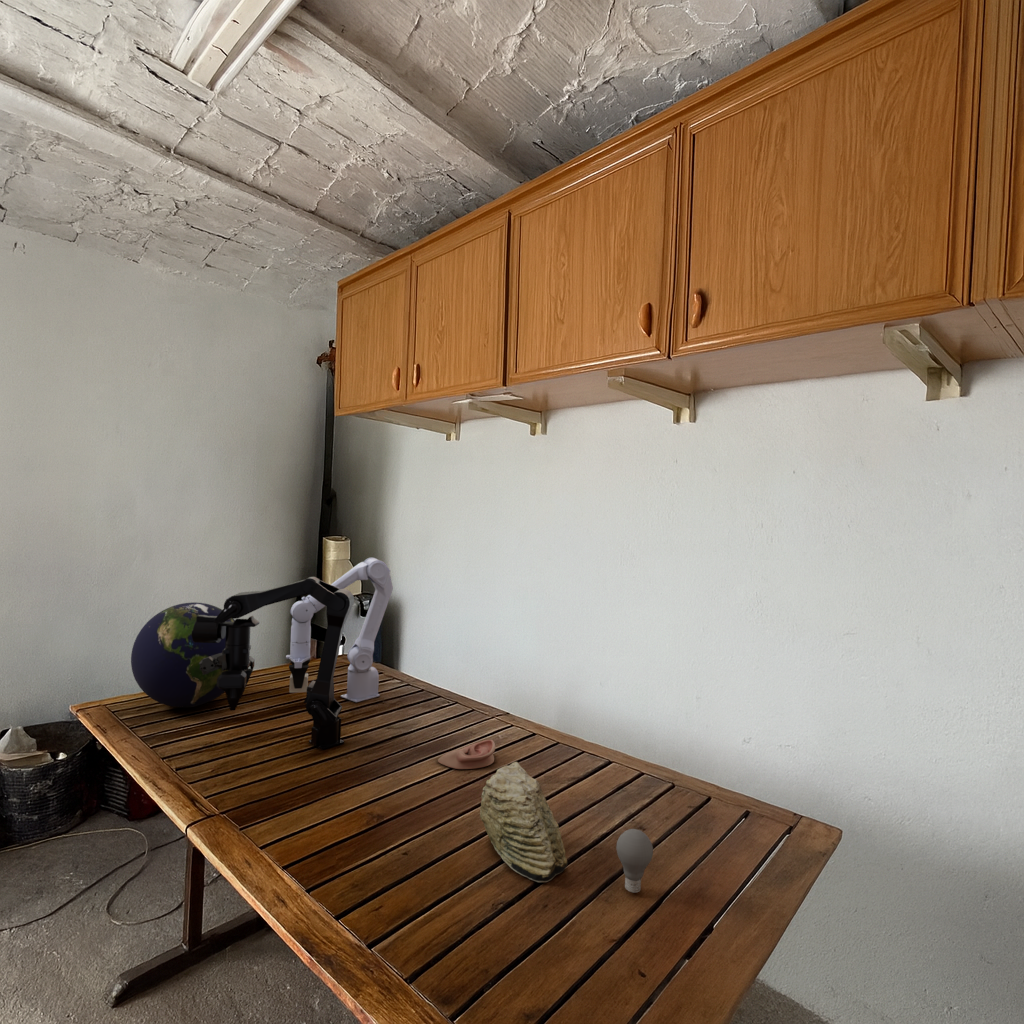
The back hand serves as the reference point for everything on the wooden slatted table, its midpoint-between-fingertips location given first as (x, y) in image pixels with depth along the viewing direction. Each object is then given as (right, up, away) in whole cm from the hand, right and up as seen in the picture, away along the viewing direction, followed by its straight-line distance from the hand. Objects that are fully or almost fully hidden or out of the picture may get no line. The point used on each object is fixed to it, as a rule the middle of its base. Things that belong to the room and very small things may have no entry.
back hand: (298, 685), depth 192 cm
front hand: (-5, +4, -32) cm, 33 cm away
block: (0, -1, 0) cm, 1 cm away
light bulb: (+85, -11, -87) cm, 122 cm away
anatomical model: (+54, -8, -37) cm, 66 cm away
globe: (-30, -4, -6) cm, 31 cm away
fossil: (+66, -10, -78) cm, 102 cm away
